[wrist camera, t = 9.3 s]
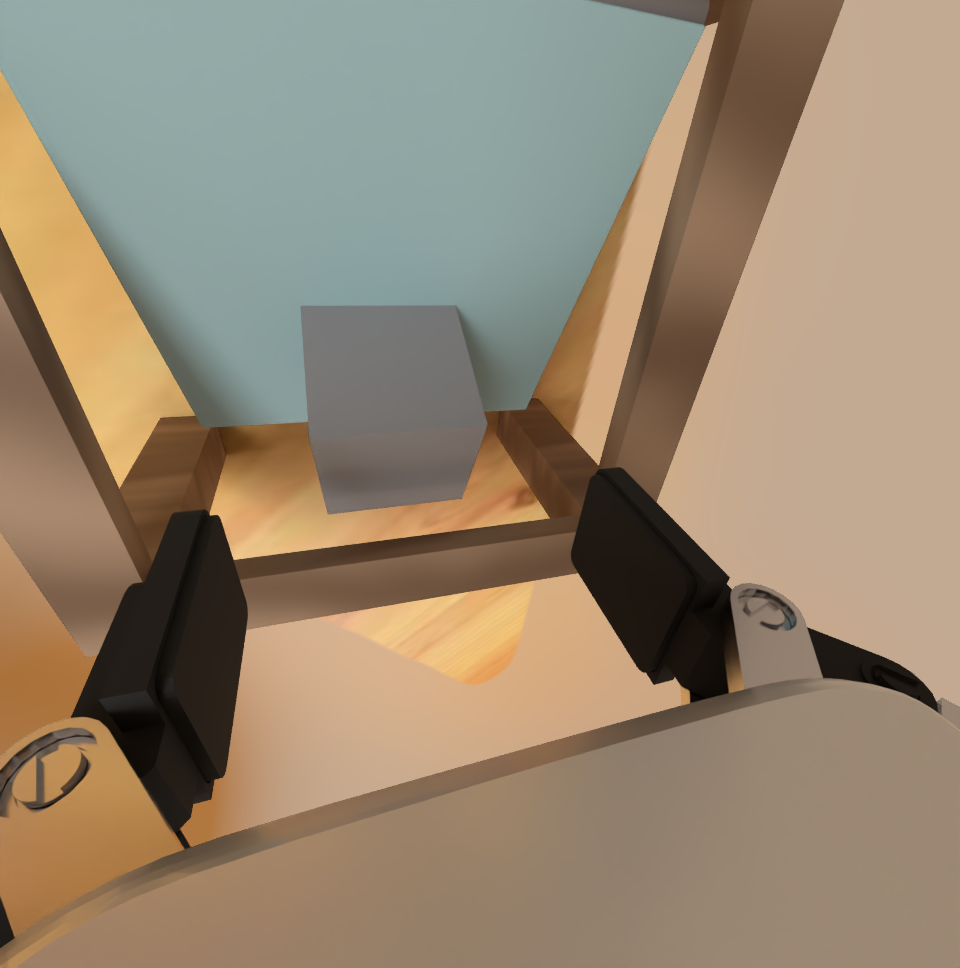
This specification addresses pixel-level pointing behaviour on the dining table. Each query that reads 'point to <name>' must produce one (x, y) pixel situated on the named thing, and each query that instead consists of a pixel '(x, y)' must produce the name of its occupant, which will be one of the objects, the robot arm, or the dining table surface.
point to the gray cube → (390, 404)
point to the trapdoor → (346, 166)
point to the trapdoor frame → (524, 433)
